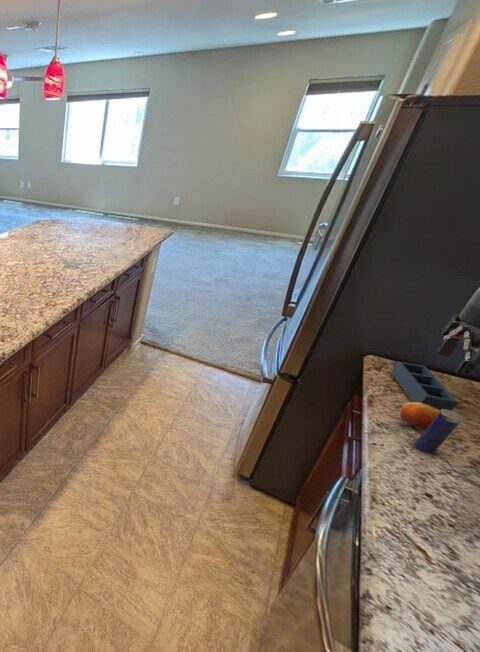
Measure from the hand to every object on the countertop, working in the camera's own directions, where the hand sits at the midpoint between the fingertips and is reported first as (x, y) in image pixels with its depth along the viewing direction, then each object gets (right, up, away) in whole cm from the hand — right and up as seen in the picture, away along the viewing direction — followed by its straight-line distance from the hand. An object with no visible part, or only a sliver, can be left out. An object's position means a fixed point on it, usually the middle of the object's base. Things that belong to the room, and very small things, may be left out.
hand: (451, 363), depth 93 cm
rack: (+21, -11, +25) cm, 34 cm away
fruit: (+7, -19, +13) cm, 24 cm away
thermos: (+1, -23, +6) cm, 24 cm away
